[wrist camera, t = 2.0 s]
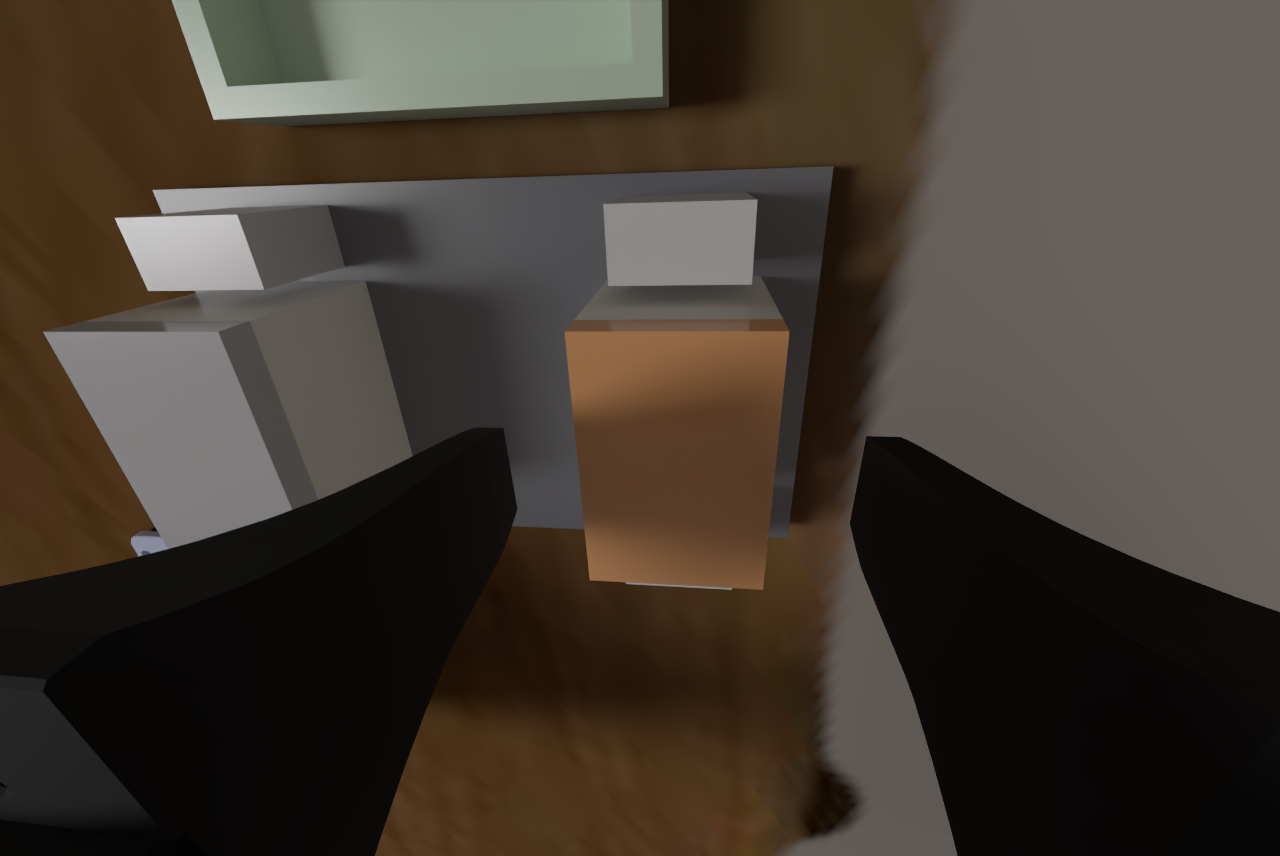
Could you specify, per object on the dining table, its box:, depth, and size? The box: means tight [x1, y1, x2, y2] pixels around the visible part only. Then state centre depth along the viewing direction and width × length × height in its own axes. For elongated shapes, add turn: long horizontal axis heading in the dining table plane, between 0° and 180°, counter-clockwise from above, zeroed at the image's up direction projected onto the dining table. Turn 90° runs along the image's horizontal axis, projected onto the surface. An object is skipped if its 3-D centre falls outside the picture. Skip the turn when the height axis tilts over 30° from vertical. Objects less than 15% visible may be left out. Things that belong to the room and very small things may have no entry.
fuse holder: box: [115, 166, 834, 590], centre depth 15 cm, size 11×18×4 cm, turn 92°
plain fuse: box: [43, 281, 413, 549], centre depth 14 cm, size 6×4×5 cm, turn 2°
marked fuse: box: [565, 276, 790, 590], centre depth 13 cm, size 6×4×5 cm, turn 2°
